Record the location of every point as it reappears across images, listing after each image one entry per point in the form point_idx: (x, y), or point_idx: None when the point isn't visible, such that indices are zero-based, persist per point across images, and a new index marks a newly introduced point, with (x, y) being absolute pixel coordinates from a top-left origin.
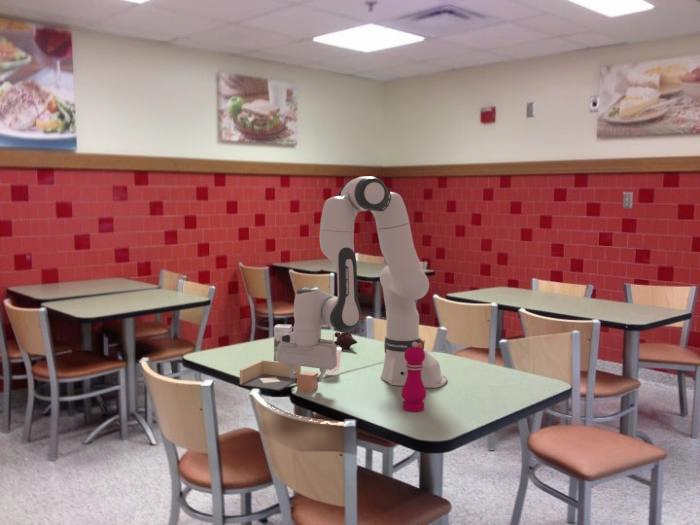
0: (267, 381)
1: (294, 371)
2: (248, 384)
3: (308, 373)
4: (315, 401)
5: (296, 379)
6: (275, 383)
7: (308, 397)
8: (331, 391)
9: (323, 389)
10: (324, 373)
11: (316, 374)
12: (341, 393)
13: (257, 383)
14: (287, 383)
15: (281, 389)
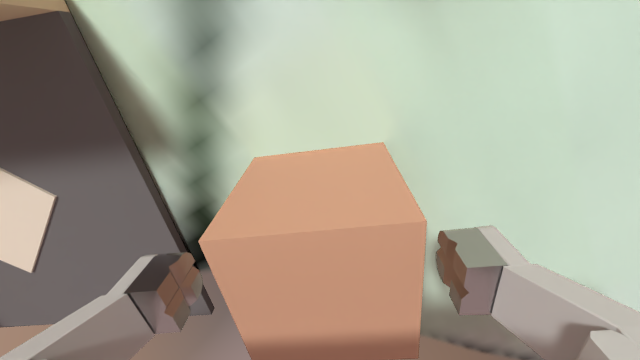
0: (7, 241)
1: (124, 295)
2: (9, 317)
3: (325, 299)
4: (483, 345)
5: (76, 67)
6: (81, 243)
7: (421, 320)
8: (533, 175)
9: (450, 163)
10: (586, 297)
11: (420, 255)
12: (631, 178)
13: (16, 289)
14: (137, 208)
15: (205, 291)
